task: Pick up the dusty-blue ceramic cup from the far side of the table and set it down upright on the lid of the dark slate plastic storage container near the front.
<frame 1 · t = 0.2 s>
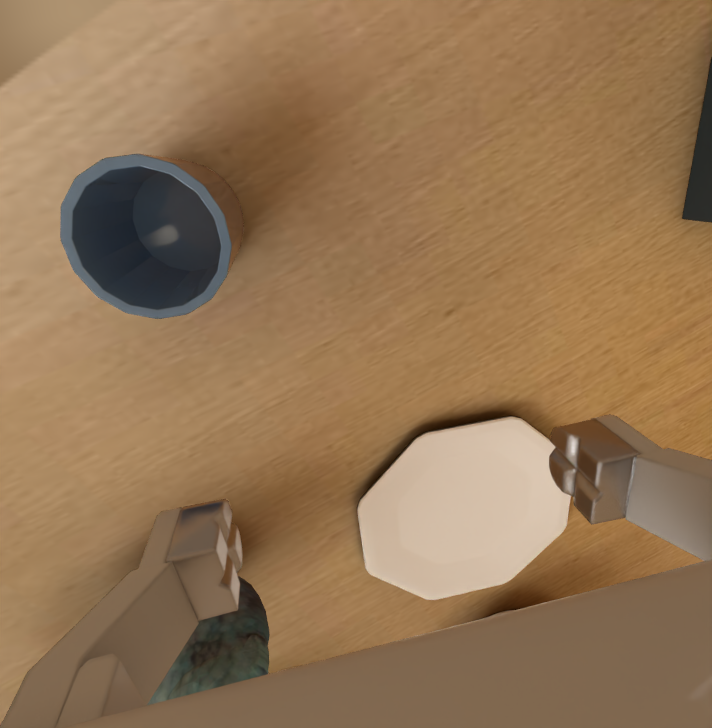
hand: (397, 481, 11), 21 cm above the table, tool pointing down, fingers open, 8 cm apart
cup: (187, 220, 26), on the table
decorative stone: (165, 572, 38), on the table
plate: (462, 505, 40), on the table
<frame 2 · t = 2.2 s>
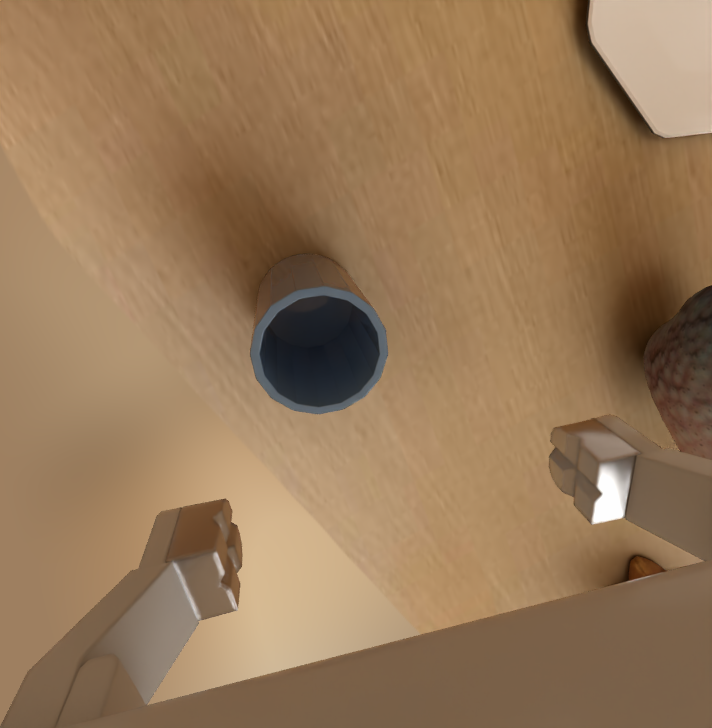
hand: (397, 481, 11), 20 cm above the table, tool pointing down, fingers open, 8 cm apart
cup: (307, 303, 29), on the table
stuffed squirrel: (639, 594, 50), on the table
decorative stone: (653, 360, 37), on the table
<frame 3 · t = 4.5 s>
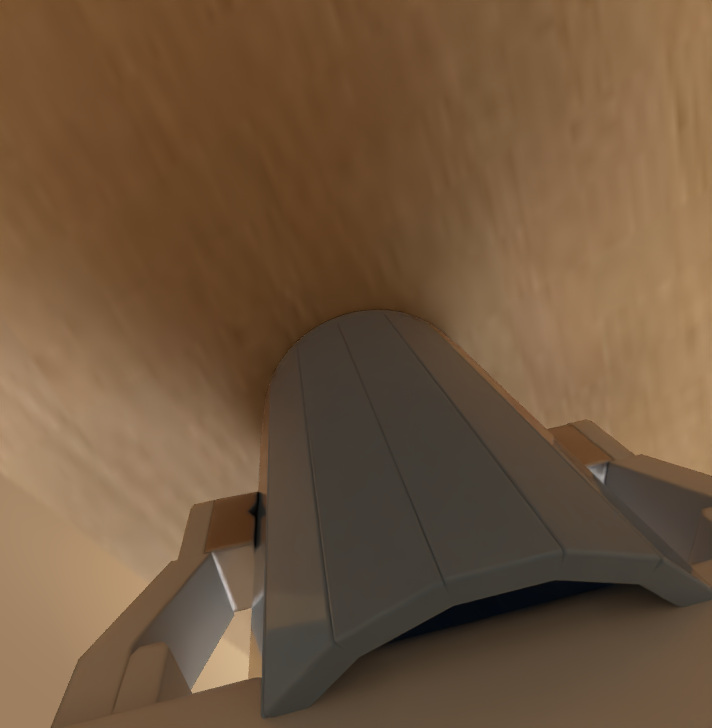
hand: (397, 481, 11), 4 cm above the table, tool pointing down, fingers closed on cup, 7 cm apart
cup: (370, 409, 14), on the table, touching gripper
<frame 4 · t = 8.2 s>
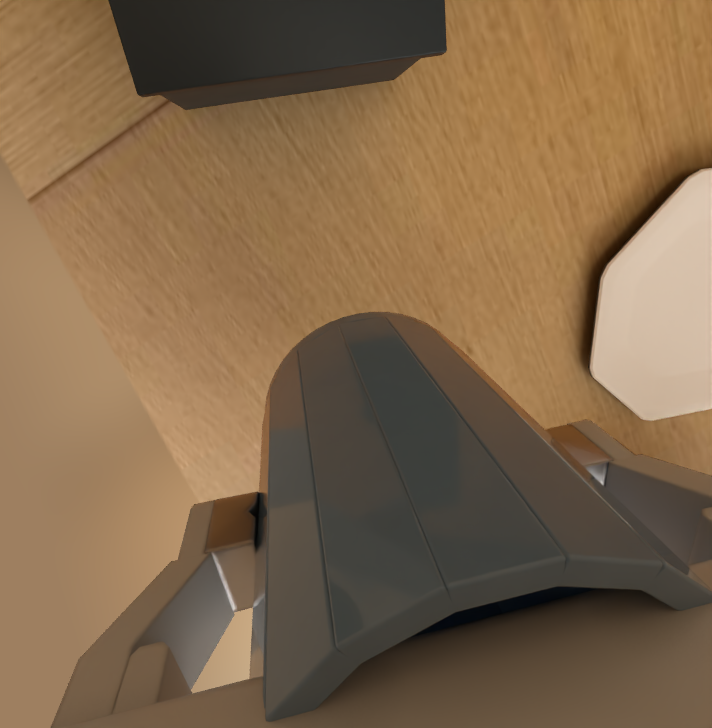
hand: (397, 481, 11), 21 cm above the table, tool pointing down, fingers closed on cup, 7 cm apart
cup: (370, 411, 14), point 17 cm above the table, touching gripper
plate: (697, 298, 34), on the table
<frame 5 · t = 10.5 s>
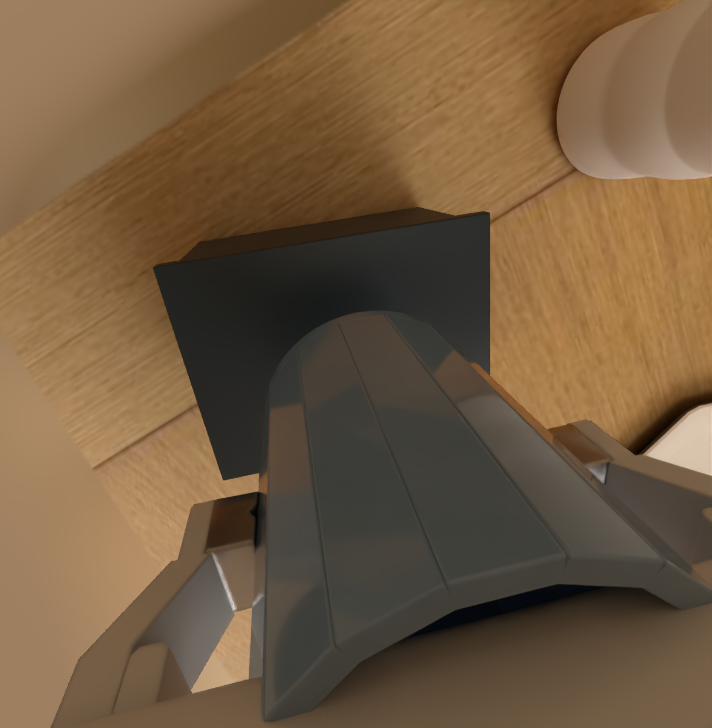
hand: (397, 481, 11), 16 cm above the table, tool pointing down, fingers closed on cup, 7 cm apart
water bottle: (608, 108, 24), on the table
cup: (370, 410, 14), point 12 cm above the table, touching gripper
container: (325, 304, 25), on the table
plate: (695, 487, 37), on the table
when the fingers open (11 cm above the table, at t = 12.3 s): cup stays where it is, resting on container.
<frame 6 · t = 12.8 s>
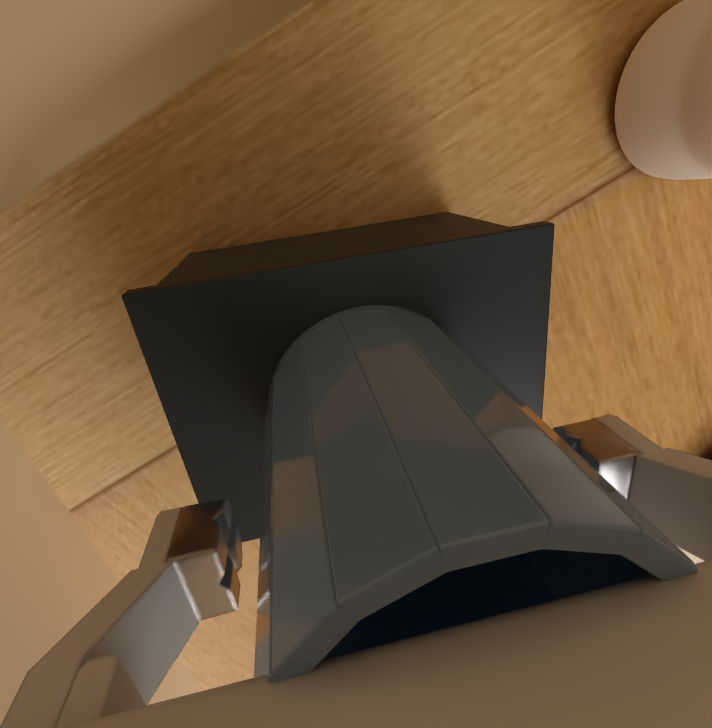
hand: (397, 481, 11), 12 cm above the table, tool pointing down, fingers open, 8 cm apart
water bottle: (673, 95, 20), on the table
cup: (371, 402, 14), point 8 cm above the table, touching container
container: (337, 324, 22), on the table
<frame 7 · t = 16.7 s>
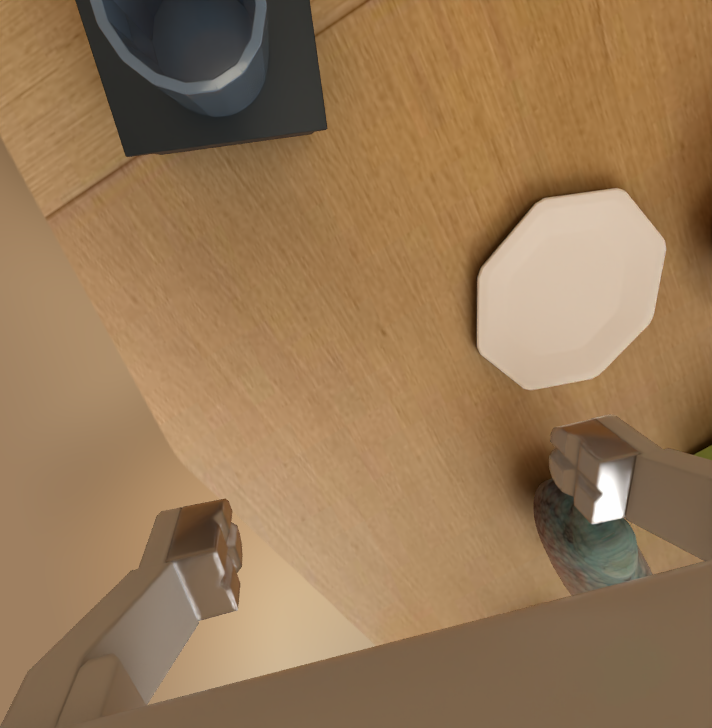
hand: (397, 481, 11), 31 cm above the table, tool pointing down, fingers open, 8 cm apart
cup: (209, 50, 25), point 8 cm above the table, touching container
decorative stone: (546, 494, 56), on the table
container: (222, 77, 32), on the table
plate: (561, 293, 45), on the table
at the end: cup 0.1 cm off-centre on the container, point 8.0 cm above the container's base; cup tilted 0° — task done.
